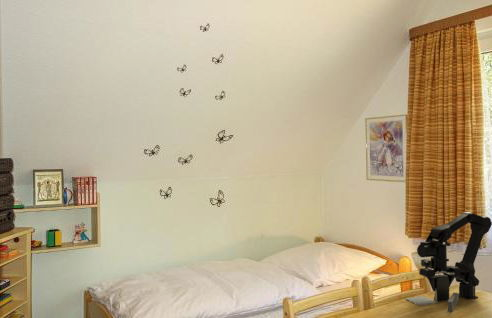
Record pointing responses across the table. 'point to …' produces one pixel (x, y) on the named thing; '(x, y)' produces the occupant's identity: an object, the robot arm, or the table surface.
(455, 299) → the grey rectangular bar
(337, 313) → the table surface
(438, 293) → the battery
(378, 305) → the table surface
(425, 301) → the mat
